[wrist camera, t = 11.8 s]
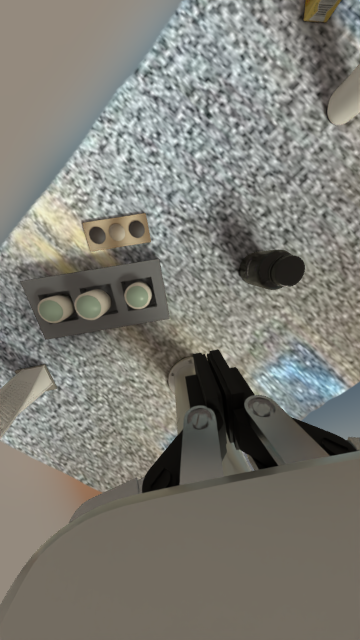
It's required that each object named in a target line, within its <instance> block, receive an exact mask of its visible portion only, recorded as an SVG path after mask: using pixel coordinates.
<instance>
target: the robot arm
mask: <svg viewBox="0 0 360 640" xmlns="http://www.w3.org/2000/svg"><path fill="white" fill-rule="evenodd" d="M207 359H208V361H207ZM189 360H190V361H189ZM168 384H169V387H170V390H171V391H172V392H173V393H174V394H175V399H176V415H177V431H178V436H177V437H176V438H175V439H174V440H173V442H172V443H171V444H170V445H169V446H168V448H167V449H166V450H165V451H164V452H163V454H162V455H161V456H160V457H159V458H158V460H157V461H156V462H155V463H154V464H153V466H152V467H151V468H150V469H149V471H148V472H147V474H146V475H145V477H144V478H141V479H139V480H138V479H137V478H134V479H132V480H130V481H128V482H126V483H124V484H121V485H119V486H117V487H115V488H113V489H111V490H108V491H106V492H104V493H102V494H100V495H98V496H95V497H93V498H91V499H89V500H88V501H86V502H85V503H83V504H82V505H81V506H80V507H79V508H78V509H77V510H76V511H75V513H74V515H73V516H72V518H71V519H70V522H69V524H67V525H66V526H65V527H63V528H62V529H60V530H59V531H58V532H57V533H56V534H54V535H53V536H52V537H51V538H50V539H48V540H47V541H46V542H45V543H44V544H43V545H42V546H41V547H40V548H39V549H38V550H37V551H36V552H35V553H34V554H33V555H32V557H31V558H30V559H29V561H28V562H27V563H26V565H25V566H24V567H23V569H22V570H21V572H20V573H19V575H18V576H17V578H16V579H15V581H14V582H13V584H12V586H11V587H10V589H9V591H8V592H7V594H6V596H5V597H4V599H3V601H2V603H1V604H0V640H360V438H355V437H348V440H345V439H343V438H341V437H339V436H337V435H335V434H333V433H330V432H328V431H325V430H323V429H320V428H318V427H315V426H312V425H310V424H307V423H305V422H302V421H300V420H297V419H295V418H292V417H290V416H289V415H288V414H287V413H286V412H285V411H284V410H283V409H282V408H281V407H280V406H279V405H278V404H277V403H276V402H275V401H273V400H272V399H270V398H268V397H266V396H262V395H254V393H253V392H252V390H251V389H250V387H249V386H248V384H247V383H246V381H245V380H244V378H243V377H242V375H241V374H240V372H239V371H238V369H237V368H236V367H234V368H229V366H228V365H227V363H226V361H225V360H224V358H223V356H222V355H221V353H220V351H219V350H213V351H210V353H209V354H207V358H206V356H205V354H203V355H202V354H201V353H196V354H193V357H187V358H184V359H182V360H180V361H178V362H177V363H176V364H175V365H174V366H173V367H172V368H171V370H170V372H169V376H168ZM242 451H243V452H245V453H246V454H247V457H248V459H249V461H250V463H251V465H252V467H253V468H254V470H255V471H252V470H251V469H250V467H249V465H248V463H247V461H246V459H245V457H244V455H243V453H242Z"/></svg>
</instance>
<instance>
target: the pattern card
mask: <svg viewBox="0 0 360 640" xmlns="http://www.w3.org/2000/svg"><path fill="white" fill-rule="evenodd" d="M82 224H83V228H84V231H85V234H86V238H87V241H88V245H89V248H90V251H98V250H104V249H110V248H117V247H123V246H129V245H136V244H142V243H148V242H151V239H150V234H149V228H148V223H147V218H146V213H143V214H137V215H130V216H124V217H118V218H111V219H105V220H98V221H92V222H85V223H82Z"/></svg>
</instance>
